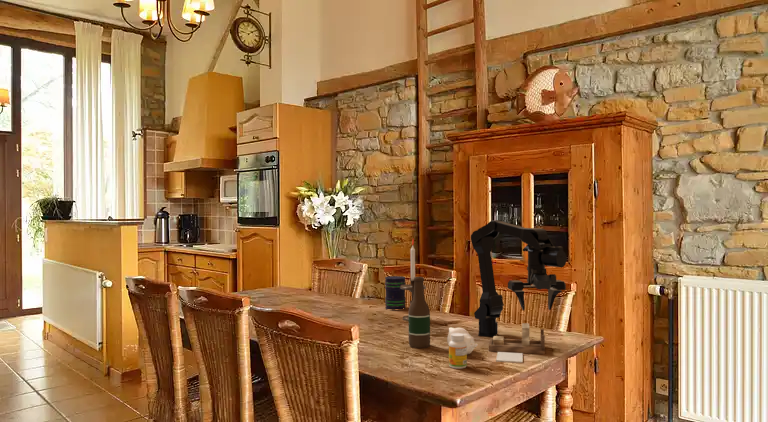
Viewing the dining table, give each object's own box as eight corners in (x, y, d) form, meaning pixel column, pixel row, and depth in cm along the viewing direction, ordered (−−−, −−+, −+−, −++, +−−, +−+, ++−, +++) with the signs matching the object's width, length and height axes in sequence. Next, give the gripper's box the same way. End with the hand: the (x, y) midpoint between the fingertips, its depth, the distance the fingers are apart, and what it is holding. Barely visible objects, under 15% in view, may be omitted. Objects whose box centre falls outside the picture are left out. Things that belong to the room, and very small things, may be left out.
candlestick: (409, 315, 245) (409, 237, 245) (430, 318, 239) (430, 238, 238) (395, 320, 236) (395, 238, 236) (417, 323, 230) (416, 239, 230)
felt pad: (496, 361, 172) (496, 360, 172) (497, 353, 181) (497, 351, 181) (522, 362, 170) (522, 361, 170) (522, 354, 179) (522, 353, 179)
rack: (488, 351, 184) (488, 333, 184) (490, 343, 194) (490, 326, 194) (544, 354, 180) (544, 335, 180) (543, 346, 189) (543, 329, 189)
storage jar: (383, 310, 259) (383, 278, 259) (386, 306, 269) (386, 275, 269) (404, 310, 258) (404, 278, 258) (407, 306, 267) (406, 276, 267)
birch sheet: (522, 349, 182) (521, 328, 182) (522, 343, 190) (522, 323, 190) (529, 349, 182) (529, 328, 182) (529, 343, 189) (529, 323, 189)
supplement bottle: (447, 364, 169) (447, 332, 169) (464, 363, 170) (464, 332, 170) (450, 369, 164) (450, 336, 164) (468, 368, 164) (468, 336, 164)
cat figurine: (471, 328, 177) (457, 319, 188) (445, 347, 175) (432, 337, 186) (484, 349, 178) (469, 339, 190) (458, 369, 176) (445, 358, 188)
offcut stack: (492, 347, 185) (492, 340, 185) (493, 342, 192) (493, 335, 192) (503, 347, 184) (503, 340, 184) (504, 342, 191) (504, 335, 191)
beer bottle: (432, 343, 194) (432, 276, 194) (427, 349, 187) (426, 278, 187) (411, 342, 197) (411, 275, 197) (405, 347, 190) (404, 278, 189)
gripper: (516, 267, 181) (516, 315, 181) (572, 267, 182) (572, 314, 182) (507, 264, 192) (507, 309, 192) (559, 263, 193) (559, 308, 193)
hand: (536, 310), depth 190 cm, fingers open, 9 cm apart
